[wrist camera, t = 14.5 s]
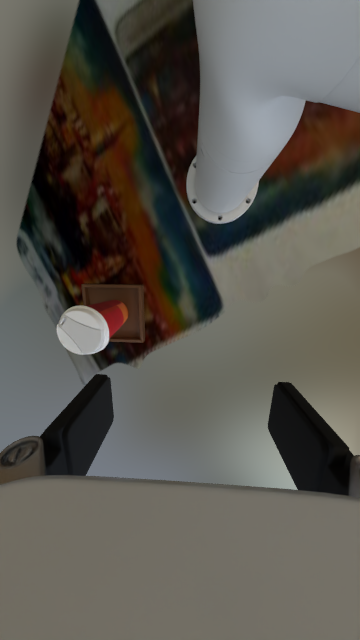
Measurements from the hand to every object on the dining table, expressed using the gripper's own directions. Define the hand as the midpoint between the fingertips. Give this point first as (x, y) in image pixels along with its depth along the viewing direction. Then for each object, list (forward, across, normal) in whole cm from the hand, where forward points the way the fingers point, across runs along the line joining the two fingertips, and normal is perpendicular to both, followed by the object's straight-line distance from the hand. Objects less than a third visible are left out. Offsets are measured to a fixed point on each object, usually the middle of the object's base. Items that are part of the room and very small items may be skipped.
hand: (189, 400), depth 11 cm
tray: (+30, +16, +2) cm, 34 cm away
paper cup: (+30, +16, +2) cm, 34 cm away
